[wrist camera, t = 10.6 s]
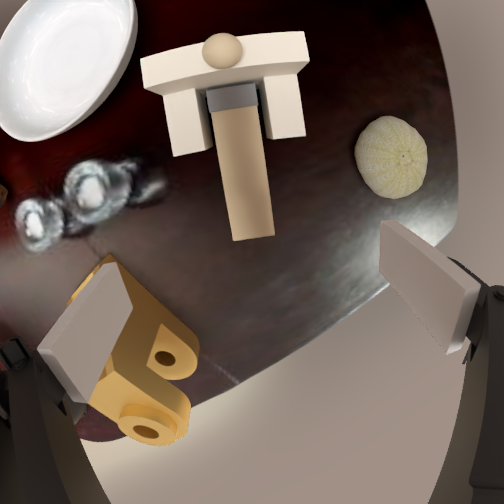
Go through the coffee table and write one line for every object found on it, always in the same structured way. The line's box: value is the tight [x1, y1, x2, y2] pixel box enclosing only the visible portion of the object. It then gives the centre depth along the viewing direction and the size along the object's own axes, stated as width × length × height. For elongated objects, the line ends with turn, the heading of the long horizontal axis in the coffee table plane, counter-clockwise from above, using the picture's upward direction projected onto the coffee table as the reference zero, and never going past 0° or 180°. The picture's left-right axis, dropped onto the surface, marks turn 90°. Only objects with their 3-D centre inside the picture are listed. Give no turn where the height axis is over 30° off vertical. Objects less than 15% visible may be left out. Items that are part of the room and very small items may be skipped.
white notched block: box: [140, 31, 309, 157], centre depth 21 cm, size 11×8×14 cm
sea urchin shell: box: [354, 116, 428, 199], centre depth 28 cm, size 9×8×8 cm
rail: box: [206, 83, 275, 241], centre depth 27 cm, size 4×14×6 cm, turn 8°
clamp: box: [67, 253, 200, 446], centre depth 31 cm, size 20×9×16 cm, turn 39°
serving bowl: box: [0, 0, 138, 142], centre depth 20 cm, size 21×21×7 cm
